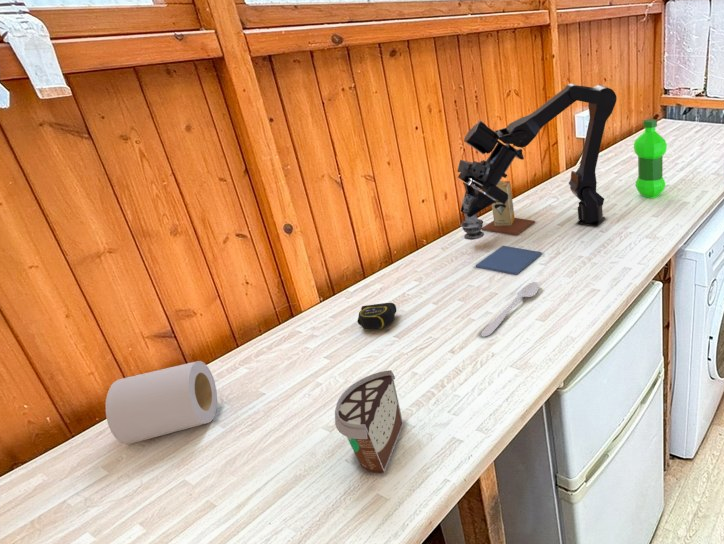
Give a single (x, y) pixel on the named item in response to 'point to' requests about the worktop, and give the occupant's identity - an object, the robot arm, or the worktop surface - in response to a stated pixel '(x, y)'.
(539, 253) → the blue mat
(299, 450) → the worktop surface
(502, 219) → the shoe polish box
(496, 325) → the spoon
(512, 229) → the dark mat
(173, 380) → the toilet paper
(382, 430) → the food container
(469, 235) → the grey chess piece
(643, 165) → the plastic bottle
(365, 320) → the tape measure
